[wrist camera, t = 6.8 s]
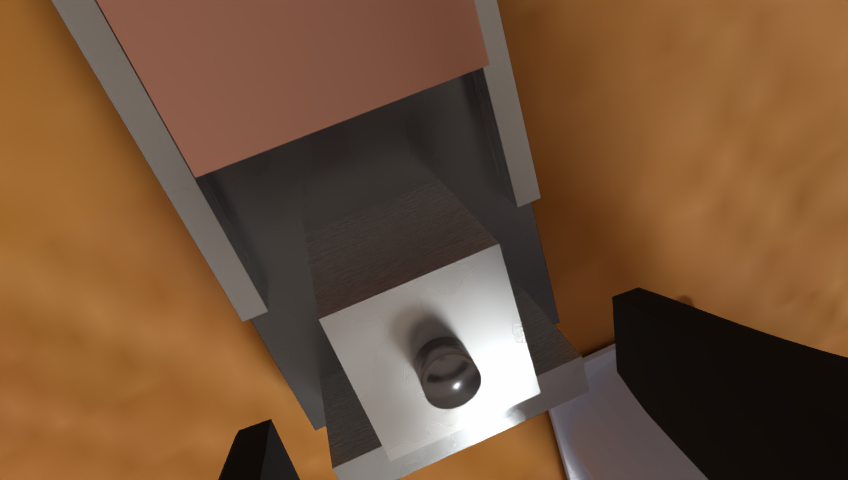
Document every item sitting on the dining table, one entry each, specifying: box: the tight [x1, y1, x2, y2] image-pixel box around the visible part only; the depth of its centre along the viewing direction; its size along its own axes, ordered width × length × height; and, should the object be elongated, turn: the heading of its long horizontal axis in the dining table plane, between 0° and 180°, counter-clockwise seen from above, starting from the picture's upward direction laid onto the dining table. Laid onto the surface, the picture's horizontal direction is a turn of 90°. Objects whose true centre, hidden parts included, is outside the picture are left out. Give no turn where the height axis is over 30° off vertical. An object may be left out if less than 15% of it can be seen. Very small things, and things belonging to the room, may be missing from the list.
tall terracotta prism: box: [97, 0, 490, 178], centre depth 13 cm, size 4×7×4 cm, turn 108°
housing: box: [304, 179, 540, 462], centre depth 15 cm, size 5×4×6 cm
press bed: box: [51, 0, 589, 480], centre depth 15 cm, size 16×10×6 cm, turn 18°
